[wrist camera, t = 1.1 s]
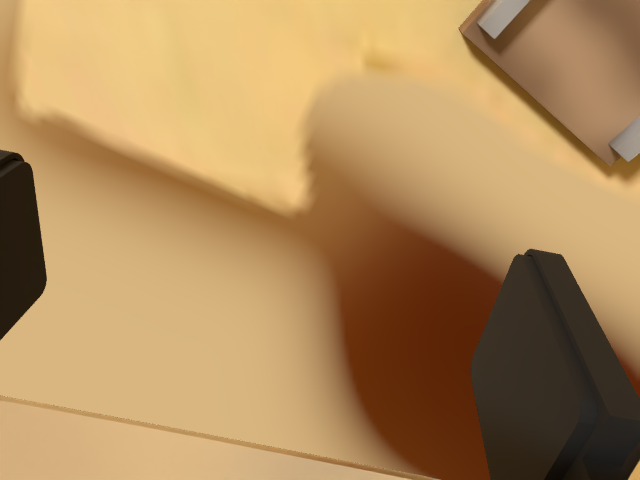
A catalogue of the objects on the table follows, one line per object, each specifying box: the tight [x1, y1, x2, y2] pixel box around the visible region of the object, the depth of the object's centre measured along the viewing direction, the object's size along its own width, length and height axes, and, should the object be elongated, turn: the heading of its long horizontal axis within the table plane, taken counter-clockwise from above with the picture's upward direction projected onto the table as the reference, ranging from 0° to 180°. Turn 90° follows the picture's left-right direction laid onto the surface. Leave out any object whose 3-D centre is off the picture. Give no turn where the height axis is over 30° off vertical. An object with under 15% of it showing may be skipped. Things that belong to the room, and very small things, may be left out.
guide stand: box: [459, 0, 640, 166], centre depth 33 cm, size 14×14×4 cm
